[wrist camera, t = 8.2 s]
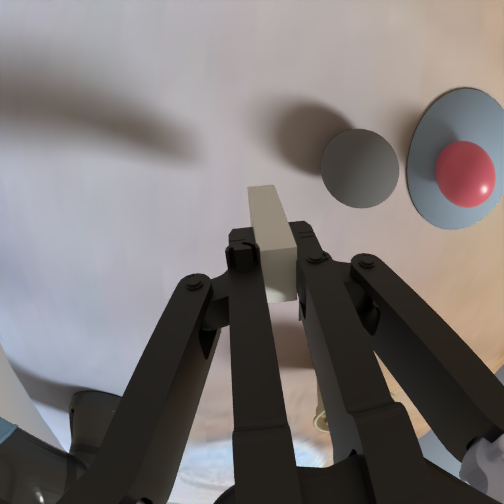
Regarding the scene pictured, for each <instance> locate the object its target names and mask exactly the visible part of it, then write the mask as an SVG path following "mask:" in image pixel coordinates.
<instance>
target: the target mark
mask: <svg viewBox="0 0 504 504" xmlns="http://www.w3.org/2000/svg"><path fill="white" fill-rule="evenodd" d="M456 141H469V142H473V143H475V144H477V145H479V146H480V147H482V148H483V149H484V150H485V151H486V152H487V153H488V155H489V156H490V158H491V160H492V162H493V164H494V168H495V173H496V181H495V187H494V190H493V192H492V194H491V196H490V197H489V198H488V199H487V200H486V201H485V202H484V203H483V204H481V205H479V206H477V207H473V208H463V207H459V206H457V205H454V204H453V203H451V202H450V201H449V200H447V199H446V198H445V197H444V195H443V194H442V193H441V191H440V189H439V187H438V185H437V182H436V177H435V166H436V161H437V158H438V156H439V154H440V153H441V151H442V150H443V149H444V148H445V147H446V146H448V145H449V144H451V143H453V142H456ZM407 180H408V187H409V192H410V195H411V198H412V201H413V203H414V205H415V207H416V209H417V210H418V212H419V213H420V214H421V215H422V216H423V218H424V219H425V220H427V221H428V222H429V223H430V224H432V225H434V226H436V227H439V228H442V229H447V230H457V229H462V228H465V227H468V226H471V225H473V224H475V223H476V222H478V221H480V220H481V219H482V218H484V217H485V216H486V215H487V214H488V213H489V212H490V211H491V210H492V209H493V208H494V207H495V206H496V204H497V203H498V202H499V200H500V199H501V197H502V196H503V194H504V110H503V108H502V107H501V105H500V104H499V103H498V102H497V101H496V100H495V99H494V98H492V97H491V96H490V95H488V94H486V93H484V92H482V91H479V90H475V89H459V90H455V91H452V92H450V93H448V94H446V95H444V96H443V97H441V98H440V99H438V100H437V101H436V102H435V103H434V104H433V105H432V106H431V107H430V108H429V109H428V110H427V112H426V113H425V114H424V116H423V118H422V119H421V121H420V122H419V124H418V126H417V128H416V130H415V133H414V136H413V139H412V141H411V145H410V149H409V155H408V161H407Z"/></svg>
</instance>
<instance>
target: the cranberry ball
mask: <svg viewBox="0 0 504 504" xmlns="http://www.w3.org/2000/svg"><path fill="white" fill-rule="evenodd" d="M435 177H436V182H437V185H438V187H439V189H440V191H441V193H442V194H443V195H444V197H445V198H446V199H447V200H449V201H450V202H451V203H453V204H454V205H457V206H459V207H463V208H473V207H477V206H479V205H481V204H483V203H484V202H485V201H486V200H487V199H488V198H489V197H490V196H491V194H492V192H493V190H494V187H495V181H496V173H495V168H494V164H493V162H492V160H491V158H490V156H489V155H488V153H487V152H486V151H485V150H484V149H483V148H482V147H480V146H479V145H477V144H475V143H473V142H469V141H456V142H453V143H451V144H449V145H448V146H446V147H445V148H444V149H443V150H442V151H441V153H440V154H439V156H438V158H437V161H436V166H435Z"/></svg>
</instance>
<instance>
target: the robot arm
mask: <svg viewBox="0 0 504 504" xmlns="http://www.w3.org/2000/svg"><path fill="white" fill-rule="evenodd" d="M247 188H248V198H249V208H250V219H251V227H247V228H238V229H232V231H231V232H230V234H229V246H228V247H227V248H226V250H225V254H226V260H227V266H228V270H227V271H226V272H225V273H224V274H222V275H221V276H219V277H216V278H213V279H210V278H209V277H208V276H207V275H205V274H200V273H197V274H191V275H188V276H186V277H184V278H183V279H181V280H180V282H179V283H178V285H177V287H176V289H175V290H174V292H173V294H172V296H171V298H170V300H169V302H168V304H167V306H166V308H165V310H164V312H163V314H162V316H161V318H160V320H159V322H158V324H157V326H156V328H155V330H154V332H153V334H152V336H151V338H150V340H149V342H148V344H147V346H146V348H145V350H144V352H143V354H142V356H141V358H140V360H139V362H138V364H137V366H136V368H135V371H134V373H133V375H132V377H131V379H130V381H129V383H128V385H127V388H126V390H125V392H124V394H123V396H122V398H121V397H117V396H114V395H110V394H106V393H101V392H93V391H84V392H79V393H76V394H74V395H73V397H72V399H71V403H70V406H69V418H70V430H71V447H70V451H69V453H67V452H65V451H63V450H61V449H58V448H56V447H54V446H52V445H50V444H48V443H46V442H44V441H42V440H40V439H39V438H37V437H35V436H33V435H31V434H29V433H28V432H26V431H24V430H22V429H21V428H19V427H18V425H16V424H12V423H10V422H8V421H6V420H5V419H3V418H1V417H0V504H166V503H167V501H168V499H169V496H170V494H171V491H172V488H173V486H174V482H175V479H176V476H177V472H178V469H179V466H180V463H181V459H182V456H183V453H184V450H185V446H186V443H187V440H188V437H189V433H190V430H191V427H192V424H193V420H194V417H195V414H196V411H197V407H198V404H199V401H200V398H201V395H202V391H203V388H204V385H205V382H206V378H207V375H208V372H209V369H210V366H211V362H212V359H213V356H214V353H215V350H216V346H217V343H218V340H219V337H220V334H221V328H222V327H225V326H228V325H230V350H231V374H232V395H233V415H234V431H233V434H232V445H233V463H234V479H235V485H233V486H231V487H230V488H229V489H227V490H226V491H225V492H224V493H223V494H221V495H220V496H219V498H218V499H217V500H216V501H215V502H214V503H213V504H504V386H503V385H502V383H501V382H500V381H499V380H498V379H497V377H496V376H495V375H494V374H493V373H492V372H491V371H490V369H489V368H488V367H487V366H486V365H485V364H484V363H483V362H482V360H481V359H480V358H479V357H478V356H477V355H476V354H475V353H474V352H473V351H472V349H471V348H470V347H469V346H468V345H467V344H466V343H465V342H464V341H463V340H462V339H461V338H460V337H459V336H458V334H457V333H456V332H455V331H454V330H453V329H452V328H451V327H450V326H449V325H448V324H447V323H446V322H445V321H444V320H443V319H442V318H441V317H440V316H439V315H438V314H437V313H436V312H435V311H434V310H433V309H432V308H431V307H430V306H429V305H428V304H427V303H426V302H425V301H424V300H423V299H422V298H421V297H420V296H419V295H418V294H417V293H416V292H415V291H414V290H413V289H412V288H411V287H410V286H409V285H408V284H406V283H405V282H404V281H403V280H402V279H401V278H400V277H399V276H398V275H397V274H396V273H395V272H394V271H393V270H392V269H391V268H389V267H388V266H387V265H386V264H385V263H384V262H383V261H382V260H381V259H380V258H378V257H377V256H375V255H372V254H366V253H362V254H357V255H355V256H354V257H353V258H352V259H351V263H346V262H338V261H334V260H333V259H332V257H331V256H330V255H329V254H328V253H327V252H325V251H323V250H322V248H321V246H320V244H319V242H318V239H317V237H316V235H315V233H314V232H313V229H312V227H311V225H310V224H308V223H307V222H305V221H296V222H288V221H287V218H286V215H285V212H284V210H283V207H282V204H281V202H280V199H279V196H278V194H277V191H276V188H275V186H274V185H264V186H254V187H247ZM297 293H298V297H299V321H301V318H302V321H303V325H304V329H305V333H306V337H307V341H308V345H309V349H310V353H311V356H312V360H313V364H314V368H315V372H316V376H317V381H318V385H319V389H320V393H321V397H322V401H323V405H324V409H325V414H326V418H327V422H328V426H329V431H330V435H331V439H332V444H333V461H334V465H332V466H329V467H326V468H317V467H299V466H296V460H295V454H294V448H293V442H292V436H291V431H290V427H289V425H288V422H287V416H286V410H285V404H284V398H283V391H282V385H281V379H280V373H279V367H278V361H277V355H276V349H275V343H274V337H273V332H272V326H271V320H270V314H269V308H268V304H269V303H278V302H286V301H294V300H297ZM373 350H374V351H375V353H376V354H377V355H378V357H379V358H380V359H381V361H382V362H383V363H384V365H385V366H386V367H387V369H388V370H389V371H390V373H391V374H392V375H393V377H394V378H395V379H396V381H397V382H398V383H399V385H400V386H401V387H402V389H403V390H404V392H405V393H406V394H407V396H408V397H409V398H410V400H411V401H412V402H413V404H414V405H415V407H416V408H417V409H418V411H419V412H420V413H421V415H422V416H423V418H424V419H425V420H426V422H427V423H428V425H429V426H430V427H431V429H432V430H433V432H434V433H435V434H436V436H437V437H438V439H439V440H440V441H441V443H442V444H443V445H444V446H445V448H446V449H447V450H448V451H449V452H450V453H451V454H452V455H453V456H454V457H455V458H456V459H457V460H458V461H460V462H461V463H462V465H461V469H460V472H459V476H460V478H461V480H460V479H458V478H457V477H455V476H453V475H452V474H450V473H448V472H447V471H445V470H443V469H442V468H440V467H439V466H437V465H435V464H434V463H432V462H430V461H429V460H427V459H426V458H424V457H423V454H422V451H421V448H420V445H419V442H418V439H417V437H416V434H415V431H414V428H413V426H412V423H411V420H410V418H409V415H408V412H407V410H406V408H405V407H404V405H403V404H402V403H401V402H395V401H394V400H393V398H392V396H391V394H390V391H389V389H388V386H387V383H386V381H385V378H384V376H383V373H382V371H381V368H380V366H379V363H378V361H377V358H376V356H375V354H374V351H373ZM462 480H463V481H467V482H468V483H469V484H470V485H468V484H467V483H465V482H463V481H462Z"/></svg>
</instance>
